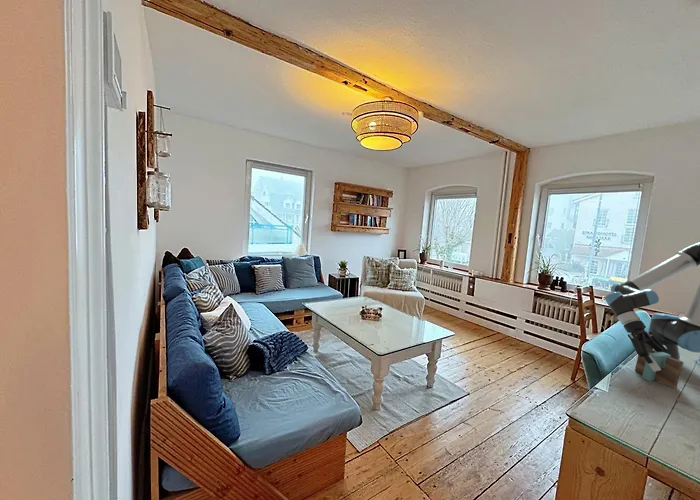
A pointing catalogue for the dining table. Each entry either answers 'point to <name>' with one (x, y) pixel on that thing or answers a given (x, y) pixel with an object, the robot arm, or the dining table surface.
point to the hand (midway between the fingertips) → (665, 369)
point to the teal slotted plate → (660, 360)
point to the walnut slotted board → (663, 370)
